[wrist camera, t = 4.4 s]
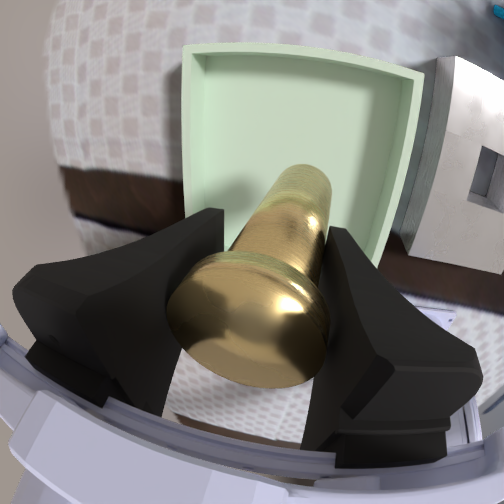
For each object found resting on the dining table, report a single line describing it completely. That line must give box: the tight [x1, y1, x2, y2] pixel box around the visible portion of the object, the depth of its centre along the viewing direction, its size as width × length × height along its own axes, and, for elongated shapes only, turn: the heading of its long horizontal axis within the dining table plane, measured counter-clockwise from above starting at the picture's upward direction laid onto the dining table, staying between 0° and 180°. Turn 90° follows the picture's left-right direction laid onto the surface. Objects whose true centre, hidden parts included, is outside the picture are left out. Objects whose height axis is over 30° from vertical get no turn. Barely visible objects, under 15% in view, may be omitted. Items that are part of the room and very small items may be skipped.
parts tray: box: [181, 43, 424, 268], centre depth 18 cm, size 16×14×3 cm
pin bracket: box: [399, 56, 504, 274], centre depth 14 cm, size 14×10×3 cm
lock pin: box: [166, 164, 332, 388], centre depth 10 cm, size 4×4×10 cm
